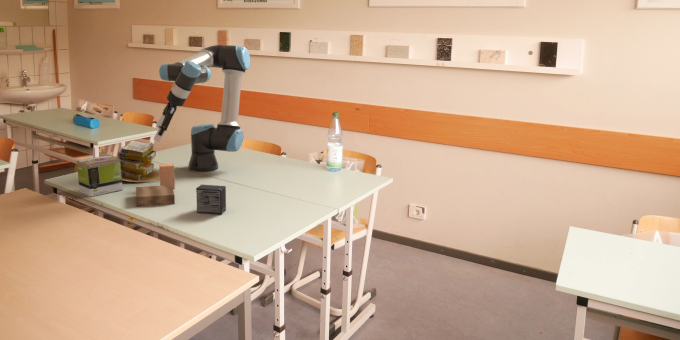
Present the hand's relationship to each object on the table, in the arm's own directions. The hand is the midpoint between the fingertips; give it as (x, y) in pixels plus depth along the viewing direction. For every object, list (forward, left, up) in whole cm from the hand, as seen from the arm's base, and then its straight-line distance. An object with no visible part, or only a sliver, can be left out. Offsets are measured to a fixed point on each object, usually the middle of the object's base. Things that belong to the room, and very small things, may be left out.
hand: (157, 133), depth 241 cm
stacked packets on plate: (+10, -21, -25) cm, 35 cm away
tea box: (+25, +1, -25) cm, 35 cm away
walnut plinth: (+3, +18, -25) cm, 31 cm away
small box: (-18, +39, -25) cm, 50 cm away
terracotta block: (-3, +2, -25) cm, 25 cm away
